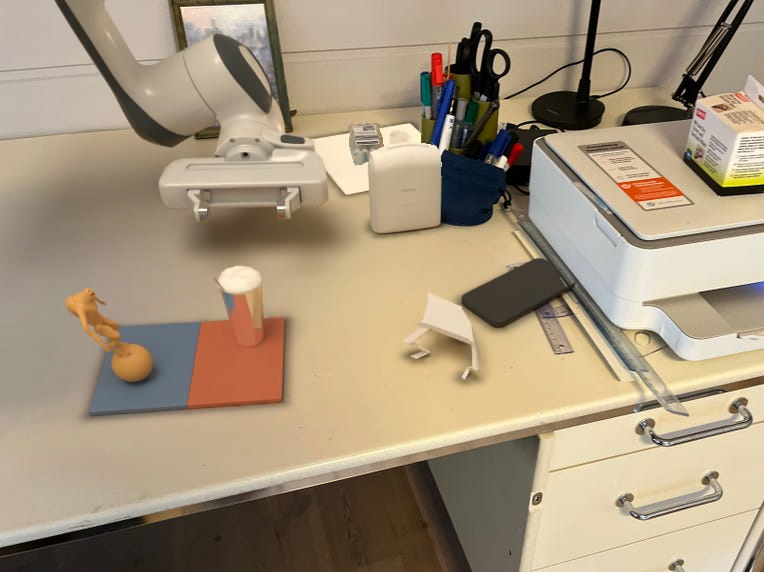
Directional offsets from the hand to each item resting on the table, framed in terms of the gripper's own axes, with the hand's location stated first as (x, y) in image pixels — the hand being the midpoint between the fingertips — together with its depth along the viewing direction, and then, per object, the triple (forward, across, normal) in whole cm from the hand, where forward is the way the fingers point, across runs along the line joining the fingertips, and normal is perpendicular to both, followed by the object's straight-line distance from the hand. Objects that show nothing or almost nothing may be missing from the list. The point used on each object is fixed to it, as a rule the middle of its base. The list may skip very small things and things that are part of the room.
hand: (242, 215), depth 89 cm
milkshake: (+12, 0, +9) cm, 15 cm away
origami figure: (+16, +23, +10) cm, 30 cm away
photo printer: (-13, +20, +10) cm, 26 cm away
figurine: (+18, -12, +9) cm, 23 cm away
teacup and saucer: (-35, +18, +10) cm, 40 cm away
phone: (+5, +34, +10) cm, 35 cm away
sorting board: (+15, -6, +10) cm, 19 cm away
